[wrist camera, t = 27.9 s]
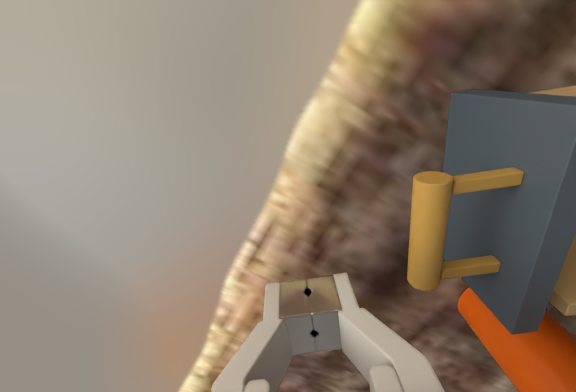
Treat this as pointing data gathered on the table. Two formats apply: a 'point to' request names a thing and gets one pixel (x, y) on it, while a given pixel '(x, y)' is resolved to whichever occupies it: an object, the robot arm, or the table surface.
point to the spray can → (525, 349)
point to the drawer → (502, 205)
